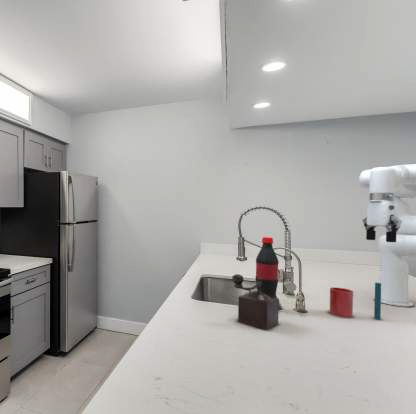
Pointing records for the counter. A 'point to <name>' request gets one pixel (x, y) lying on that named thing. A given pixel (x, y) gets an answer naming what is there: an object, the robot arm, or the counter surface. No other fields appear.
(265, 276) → the cola bottle
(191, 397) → the counter surface
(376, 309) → the straw
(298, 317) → the counter surface
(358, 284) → the counter surface
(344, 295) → the can
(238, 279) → the manual coffee grinder
